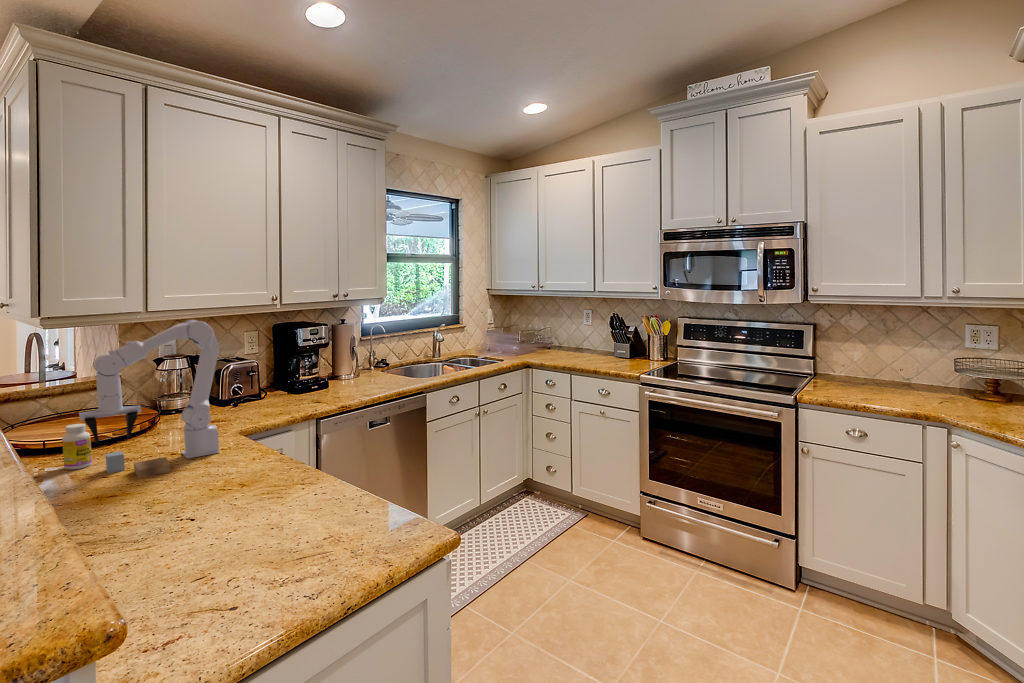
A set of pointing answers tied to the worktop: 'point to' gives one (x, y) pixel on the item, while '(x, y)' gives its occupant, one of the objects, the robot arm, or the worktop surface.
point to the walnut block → (152, 467)
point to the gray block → (115, 462)
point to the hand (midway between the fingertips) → (113, 439)
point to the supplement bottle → (76, 447)
